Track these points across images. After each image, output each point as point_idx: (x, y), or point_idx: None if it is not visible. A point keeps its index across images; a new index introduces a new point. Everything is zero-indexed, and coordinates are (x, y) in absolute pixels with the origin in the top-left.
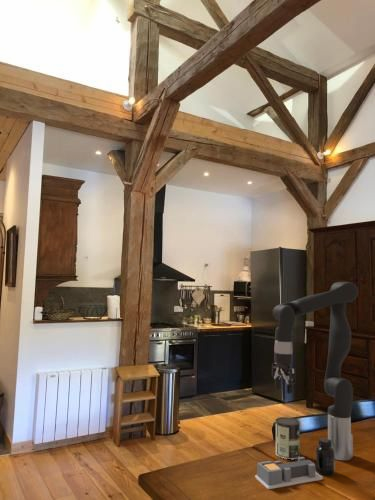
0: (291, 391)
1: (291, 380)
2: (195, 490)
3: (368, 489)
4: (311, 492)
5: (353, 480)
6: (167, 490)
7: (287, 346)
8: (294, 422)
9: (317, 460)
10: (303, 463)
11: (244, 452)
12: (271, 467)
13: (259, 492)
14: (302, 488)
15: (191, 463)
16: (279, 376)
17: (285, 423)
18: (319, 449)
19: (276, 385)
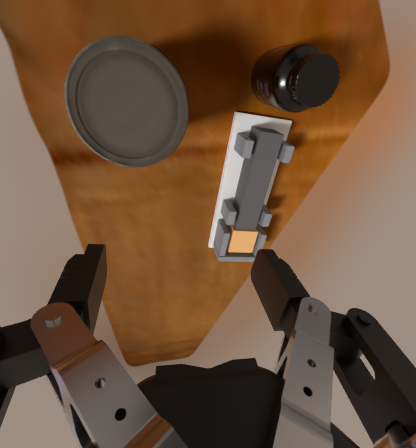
0: (285, 268)
1: (364, 370)
2: (199, 327)
3: (383, 50)
4: (302, 185)
5: (341, 41)
6: (182, 351)
7: None
8: (156, 86)
9: (275, 107)
10: (267, 163)
11: (87, 204)
12: (245, 244)
13: None
14: (284, 191)
15: (112, 313)
16: (78, 342)
17: (153, 141)
18: (297, 110)
19: (102, 289)
